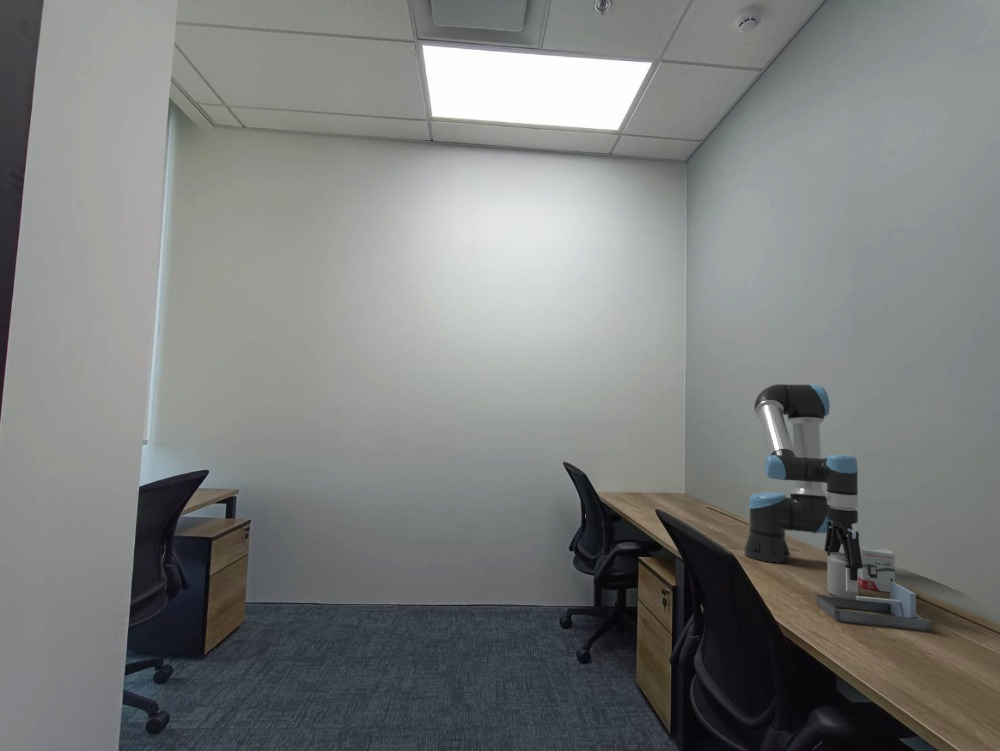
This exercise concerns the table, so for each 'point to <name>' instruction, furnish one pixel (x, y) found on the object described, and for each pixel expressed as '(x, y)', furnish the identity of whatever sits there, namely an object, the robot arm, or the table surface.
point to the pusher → (897, 601)
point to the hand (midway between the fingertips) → (842, 584)
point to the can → (838, 576)
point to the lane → (868, 618)
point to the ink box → (876, 569)
